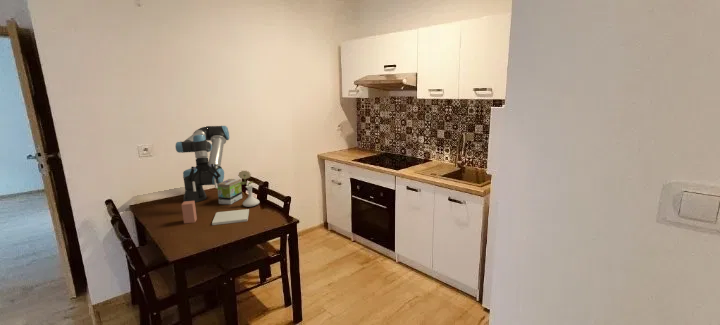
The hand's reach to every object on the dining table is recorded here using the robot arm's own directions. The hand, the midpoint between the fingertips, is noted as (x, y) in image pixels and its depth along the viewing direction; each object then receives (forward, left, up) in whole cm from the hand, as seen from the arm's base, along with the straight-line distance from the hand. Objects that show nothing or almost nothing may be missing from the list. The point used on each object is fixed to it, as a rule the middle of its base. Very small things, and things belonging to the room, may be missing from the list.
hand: (205, 189), depth 219 cm
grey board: (+19, +17, -14) cm, 29 cm away
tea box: (-16, +13, -15) cm, 25 cm away
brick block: (+17, -7, -14) cm, 23 cm away
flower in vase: (-2, +27, -15) cm, 30 cm away
